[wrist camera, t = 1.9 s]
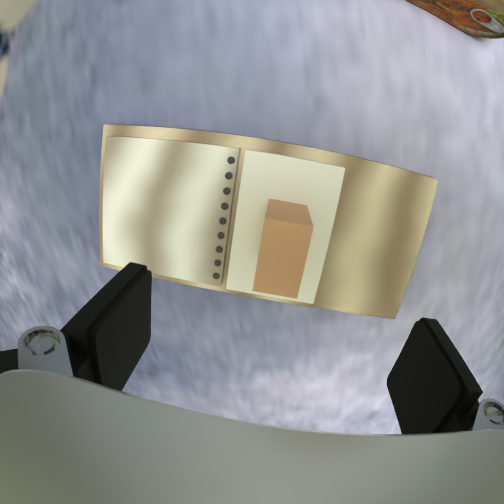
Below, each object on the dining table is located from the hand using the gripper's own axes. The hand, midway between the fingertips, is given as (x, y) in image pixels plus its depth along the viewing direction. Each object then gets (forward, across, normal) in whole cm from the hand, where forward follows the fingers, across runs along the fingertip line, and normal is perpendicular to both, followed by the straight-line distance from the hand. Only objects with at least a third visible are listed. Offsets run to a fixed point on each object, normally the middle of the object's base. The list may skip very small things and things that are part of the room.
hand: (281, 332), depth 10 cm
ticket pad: (+19, +2, +2) cm, 19 cm away
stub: (+17, 0, +1) cm, 17 cm away
